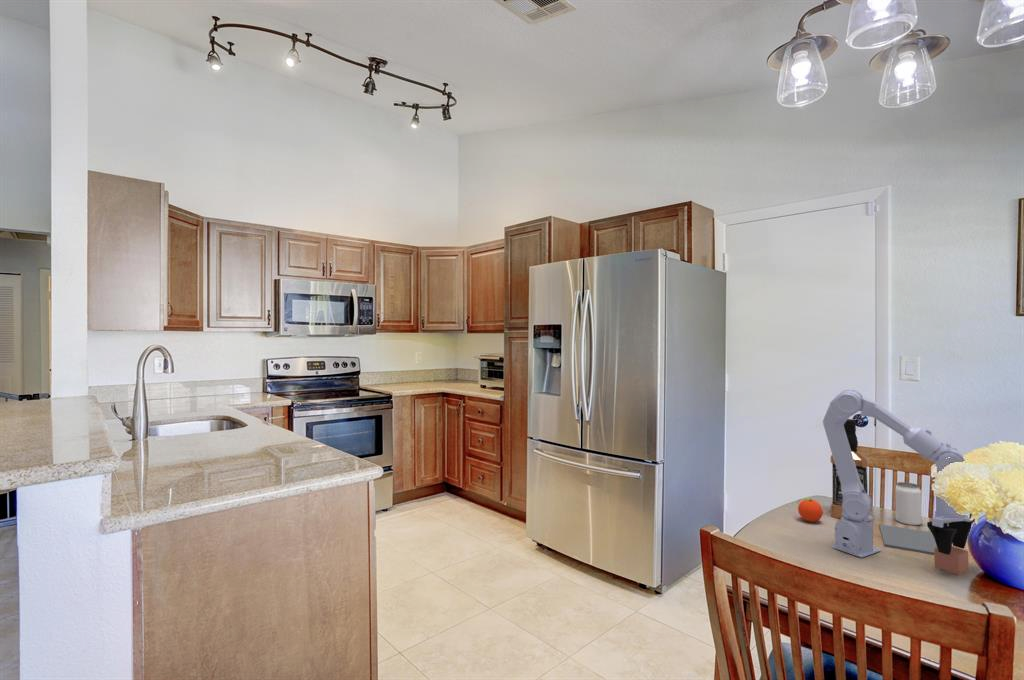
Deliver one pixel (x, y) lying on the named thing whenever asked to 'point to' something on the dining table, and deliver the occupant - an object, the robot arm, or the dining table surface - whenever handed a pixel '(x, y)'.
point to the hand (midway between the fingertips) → (951, 550)
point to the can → (908, 503)
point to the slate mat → (908, 539)
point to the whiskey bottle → (861, 466)
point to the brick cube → (952, 560)
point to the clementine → (810, 510)
